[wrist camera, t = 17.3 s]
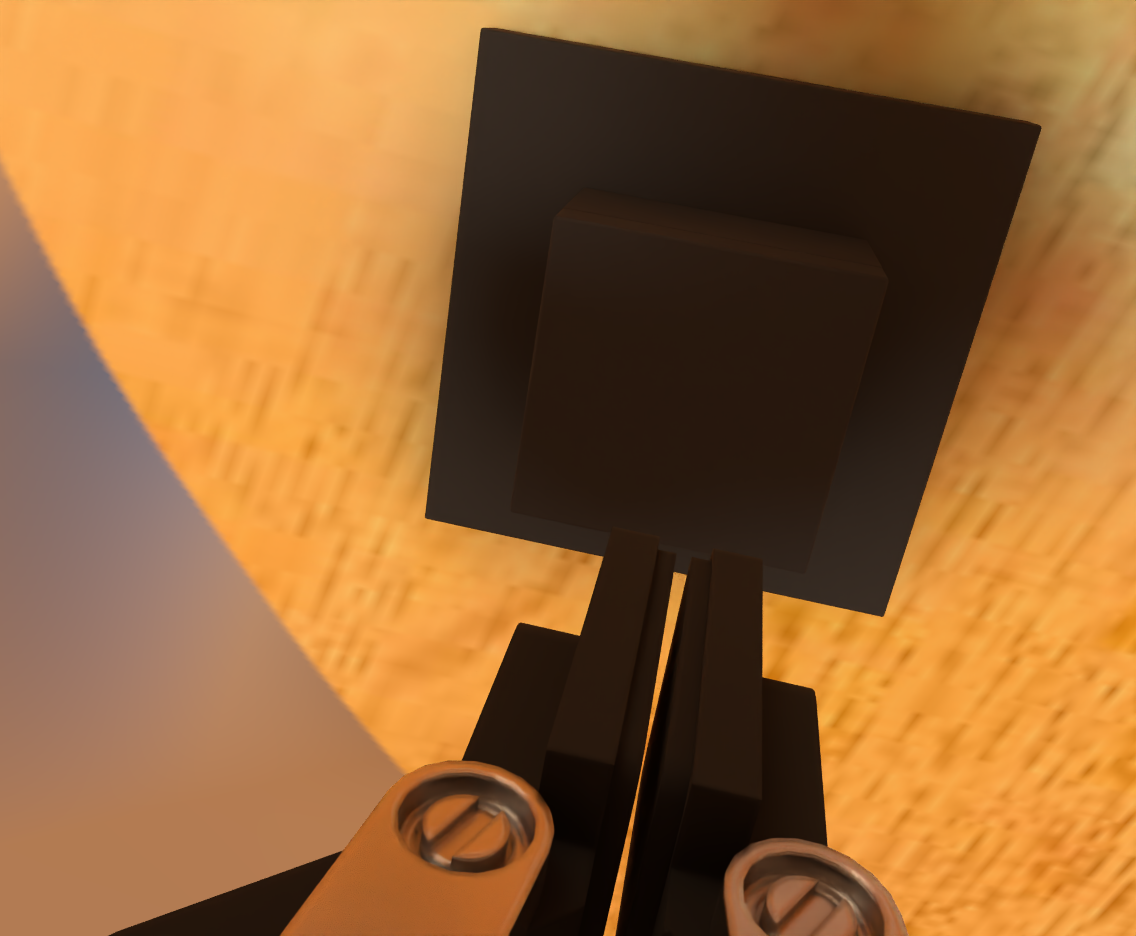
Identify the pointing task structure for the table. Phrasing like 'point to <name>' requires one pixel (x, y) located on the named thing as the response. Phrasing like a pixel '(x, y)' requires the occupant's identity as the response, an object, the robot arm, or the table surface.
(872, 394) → the base pad
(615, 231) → the top pad
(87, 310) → the table surface
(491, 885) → the robot arm
